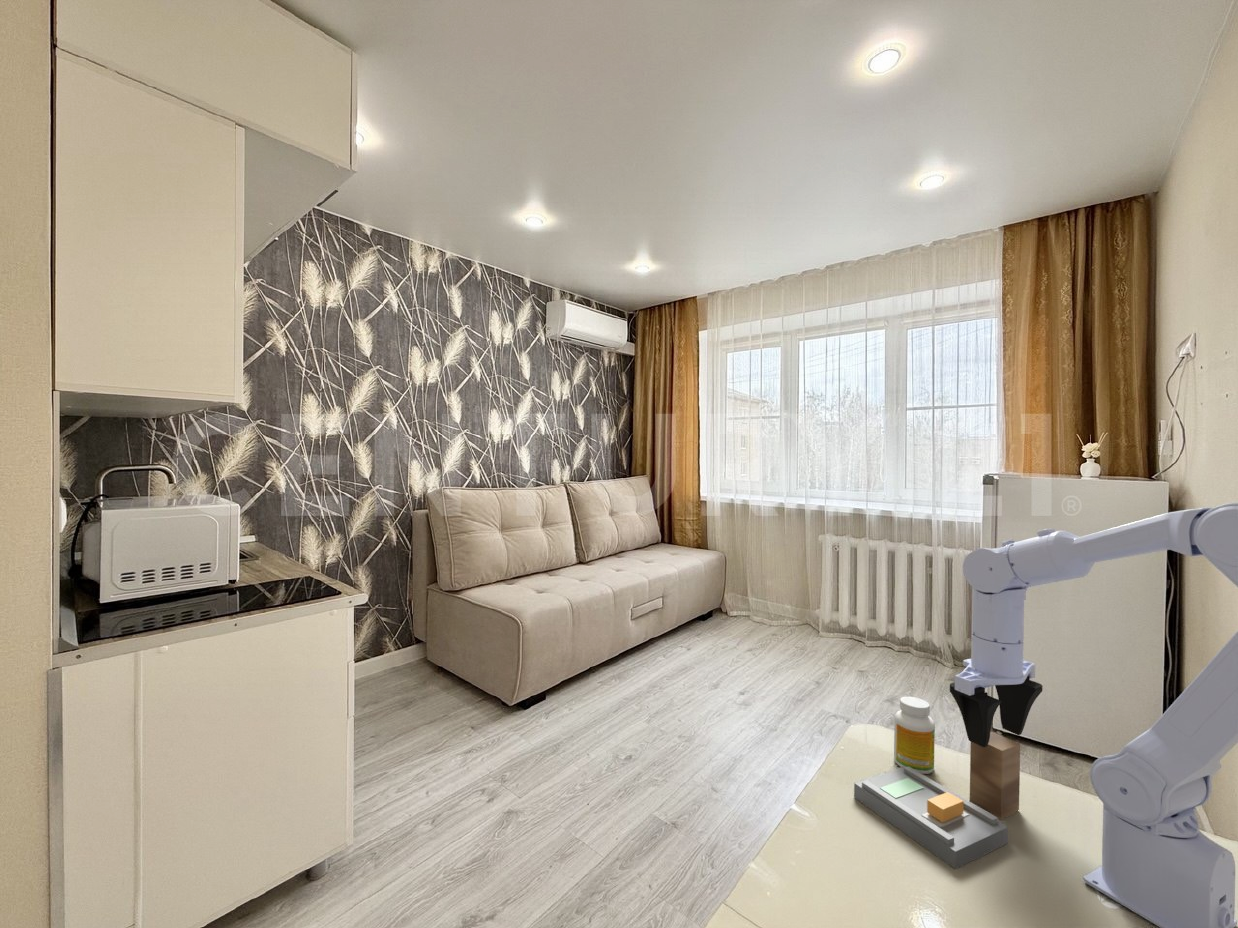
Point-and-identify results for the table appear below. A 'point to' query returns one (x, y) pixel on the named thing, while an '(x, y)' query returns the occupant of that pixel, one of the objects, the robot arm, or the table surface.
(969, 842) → the grey railed tray
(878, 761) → the table surface
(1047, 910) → the table surface
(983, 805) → the tan wooden post
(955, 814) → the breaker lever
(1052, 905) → the table surface
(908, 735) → the supplement bottle
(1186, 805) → the robot arm
